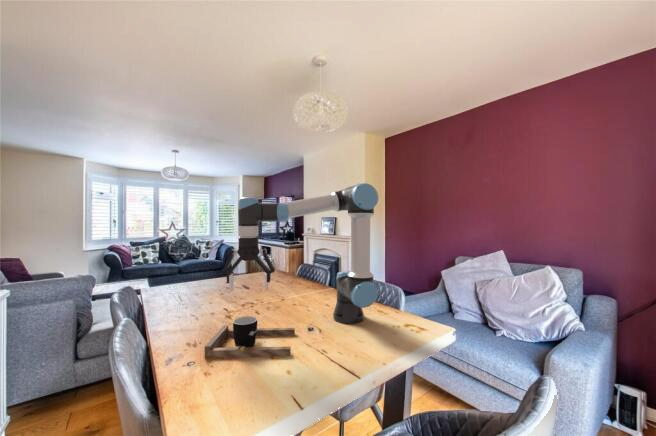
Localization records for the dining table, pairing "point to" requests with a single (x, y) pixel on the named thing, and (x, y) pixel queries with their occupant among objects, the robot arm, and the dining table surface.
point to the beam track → (243, 351)
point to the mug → (245, 331)
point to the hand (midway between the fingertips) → (248, 291)
